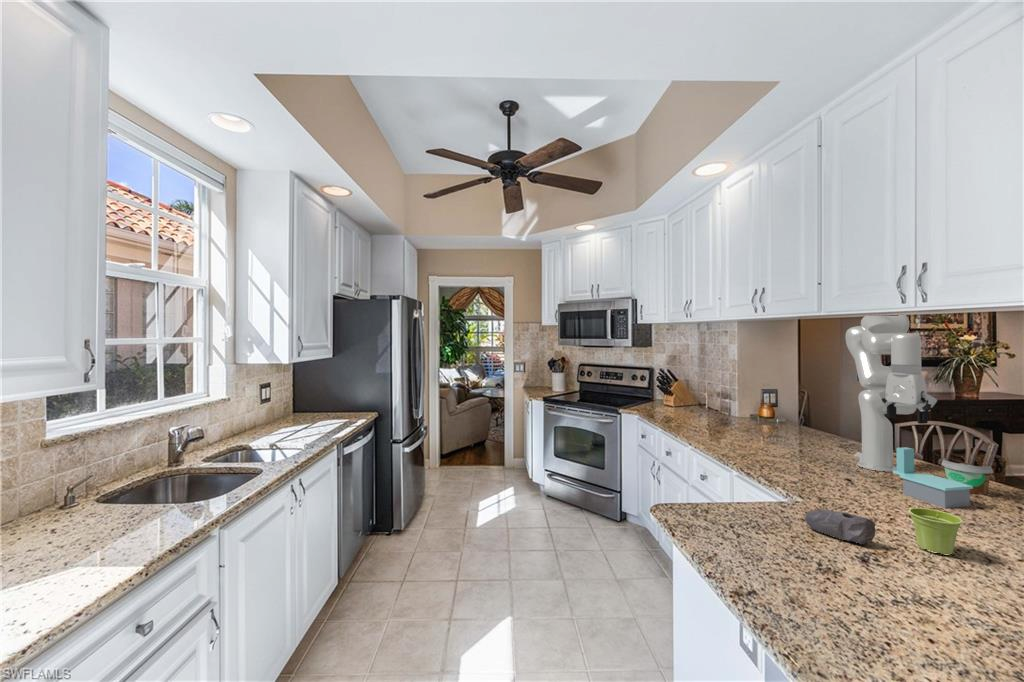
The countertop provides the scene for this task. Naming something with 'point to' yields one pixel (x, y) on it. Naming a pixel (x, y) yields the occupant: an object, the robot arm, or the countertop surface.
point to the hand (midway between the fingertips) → (906, 420)
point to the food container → (969, 475)
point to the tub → (936, 495)
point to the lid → (907, 472)
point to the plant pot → (935, 529)
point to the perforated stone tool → (841, 525)
